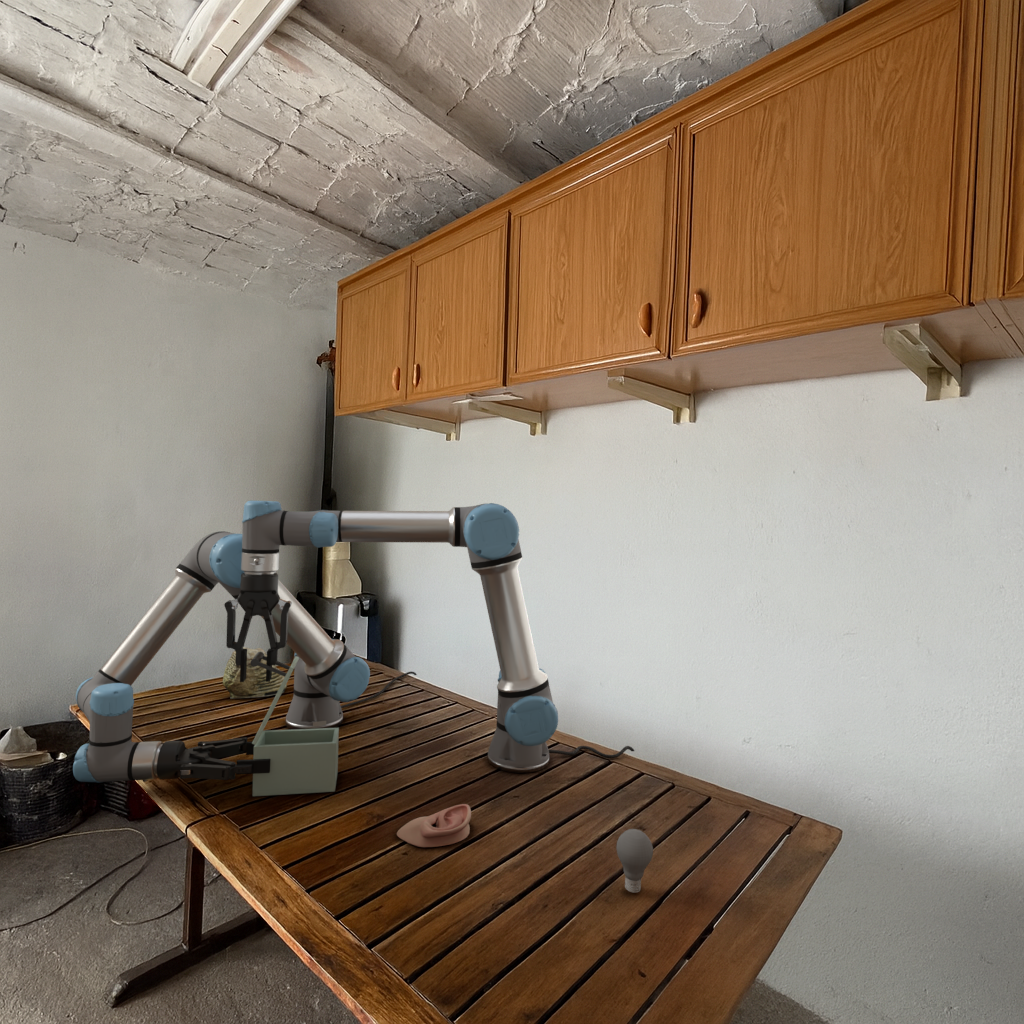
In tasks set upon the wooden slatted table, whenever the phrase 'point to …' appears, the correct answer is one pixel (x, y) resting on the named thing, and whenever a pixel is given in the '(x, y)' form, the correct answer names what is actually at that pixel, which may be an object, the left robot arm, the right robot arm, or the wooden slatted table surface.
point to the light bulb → (634, 857)
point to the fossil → (250, 678)
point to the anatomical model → (438, 827)
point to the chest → (297, 761)
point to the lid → (256, 662)
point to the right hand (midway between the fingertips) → (255, 679)
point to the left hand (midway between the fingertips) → (273, 756)
